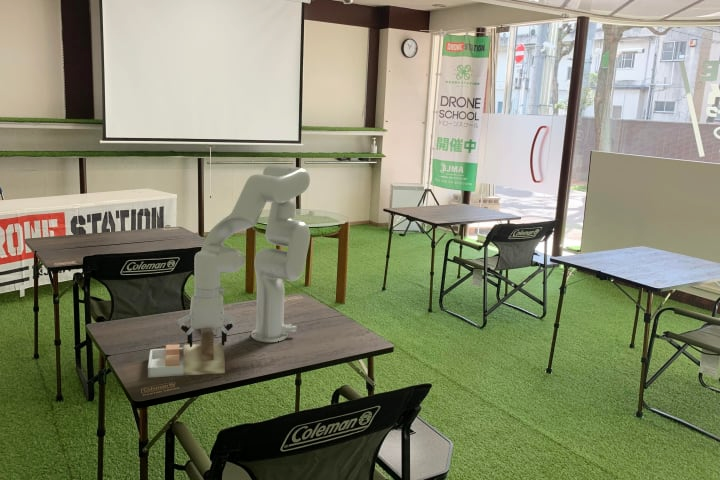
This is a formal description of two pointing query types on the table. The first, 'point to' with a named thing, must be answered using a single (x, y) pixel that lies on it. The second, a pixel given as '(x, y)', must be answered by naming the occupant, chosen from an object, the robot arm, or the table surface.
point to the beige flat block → (197, 366)
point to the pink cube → (172, 349)
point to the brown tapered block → (207, 344)
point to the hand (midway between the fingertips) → (207, 344)
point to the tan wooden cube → (172, 360)
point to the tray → (158, 364)
